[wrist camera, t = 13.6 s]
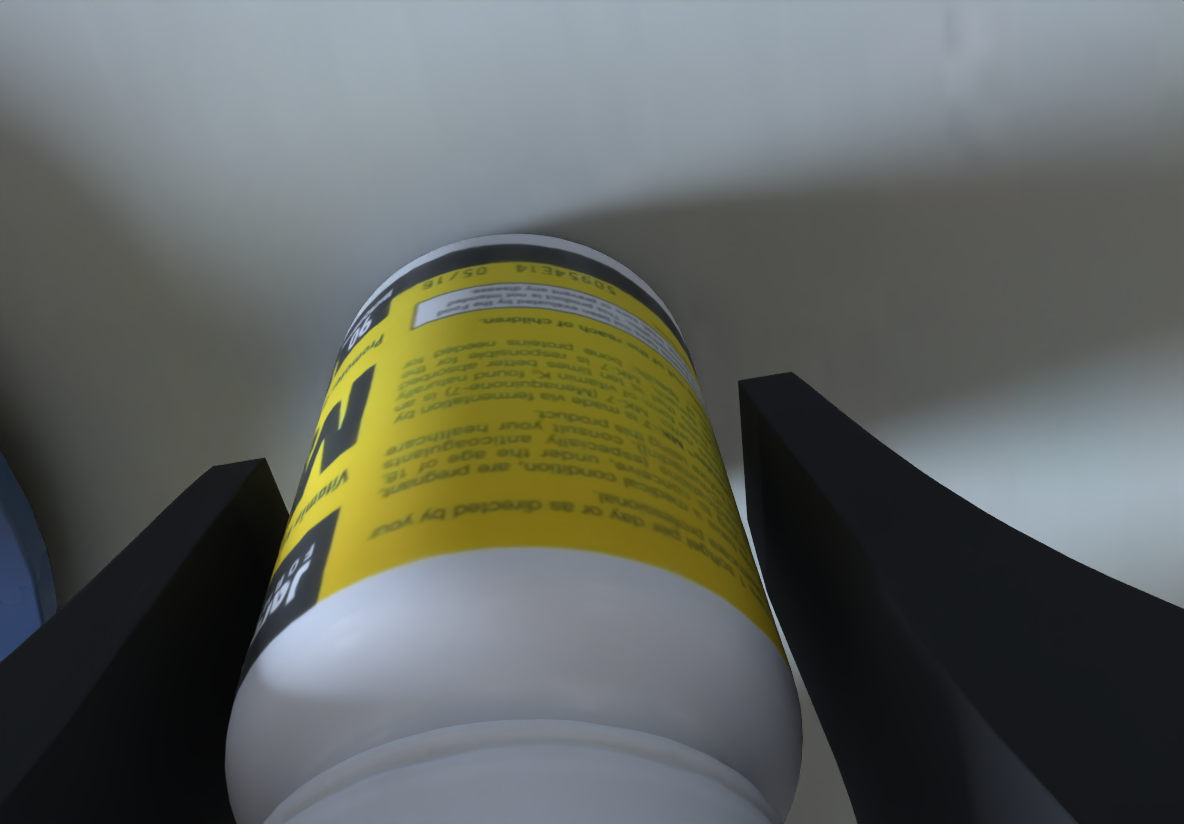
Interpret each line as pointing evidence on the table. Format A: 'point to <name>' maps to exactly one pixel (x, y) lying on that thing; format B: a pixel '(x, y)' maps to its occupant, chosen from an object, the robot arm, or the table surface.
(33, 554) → the tin lid
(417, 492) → the supplement bottle
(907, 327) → the table surface
